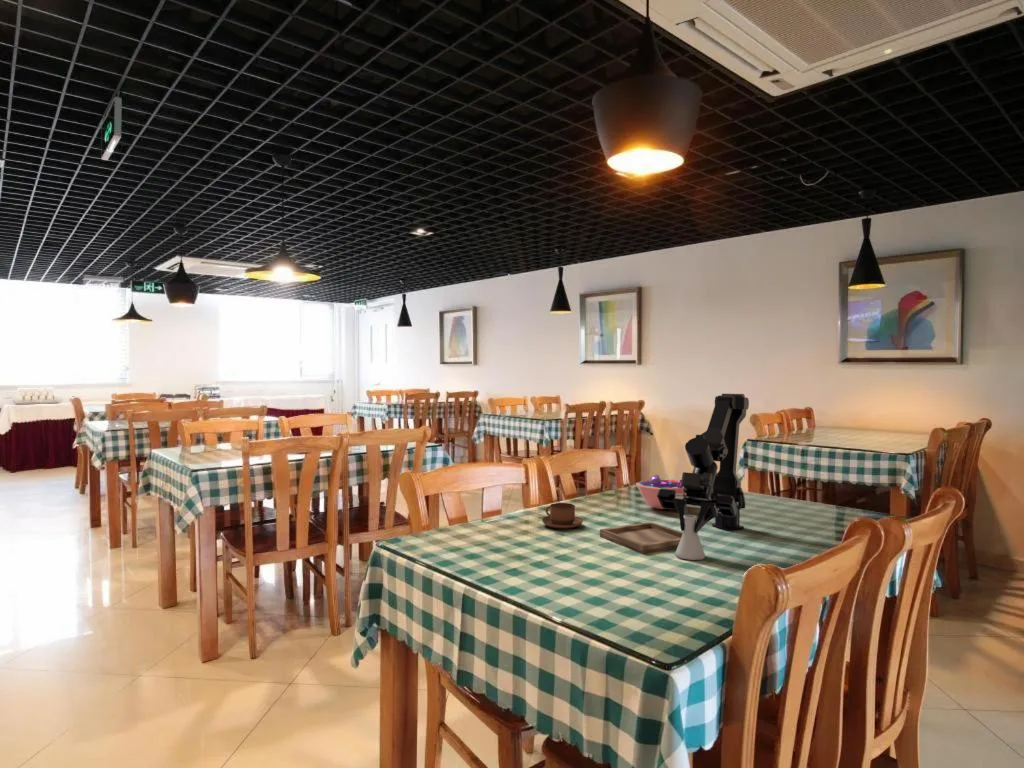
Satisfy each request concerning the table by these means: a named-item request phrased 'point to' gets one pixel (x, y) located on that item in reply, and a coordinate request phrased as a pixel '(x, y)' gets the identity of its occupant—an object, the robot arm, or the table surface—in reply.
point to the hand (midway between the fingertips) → (688, 531)
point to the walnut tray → (643, 537)
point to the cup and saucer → (561, 516)
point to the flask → (690, 541)
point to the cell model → (657, 489)
